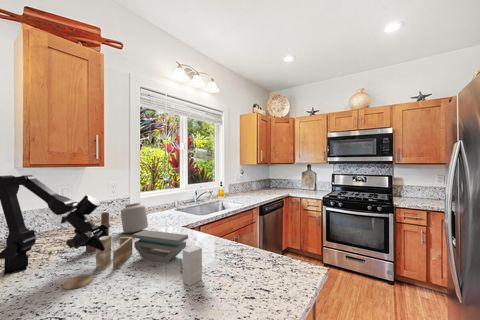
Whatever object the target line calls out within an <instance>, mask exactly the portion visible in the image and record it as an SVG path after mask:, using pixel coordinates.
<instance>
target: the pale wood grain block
mask: <svg viewBox="0 0 480 320" xmlns="http://www.w3.org/2000/svg"><path fill="white" fill-rule="evenodd" d="M99 239H100V241H101V242H102V244H103V246H104V248H105V250H104V251H101V250H98V249H96V251H95V269H96V270H102V269H103V270H105V269H106V268H107V267H108V266H109V265H111V264H112V260H111V259H112V235H109V236H102V237H100V238H99Z"/></svg>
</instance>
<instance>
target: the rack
mask: <svg viewBox="0 0 480 320" xmlns="http://www.w3.org/2000/svg"><path fill="white" fill-rule="evenodd" d="M133 239H134V238H133V237H131V236H129V237H128V236H120V237H119V244H118V246H117V247H116V248H115V249H113V252H112V253H113V254H112V271H116V270H117V269H119V268H120V267H121V266H122V265H123V264H124V263H125V262H126V261H127V260H128V259H129V258H130V257H131V256H132V255H133Z"/></svg>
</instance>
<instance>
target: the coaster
mask: <svg viewBox="0 0 480 320" xmlns="http://www.w3.org/2000/svg"><path fill="white" fill-rule="evenodd" d="M93 279H94V278H93V276H92V275H90V274H82V275H78V276H73V277H71V278H69V279H66V280H65V281H64V282H63V283H62V284H61V288H62V289H63V290H68V291H69V290H76V289H77V290H78V289H80V288H83V287H85V286H87V285H90V284H91V283H92V282H93Z"/></svg>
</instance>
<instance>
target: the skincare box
mask: <svg viewBox="0 0 480 320" xmlns="http://www.w3.org/2000/svg"><path fill="white" fill-rule="evenodd" d="M202 280H203V249H202V247H199V246H197V245H193V246H191V247H188V248H184V249H183V250H182V283H183V284H185V285H187V286H188V287H191V286H192V285H195V284H196V283H198V282H200V281H202Z"/></svg>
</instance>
